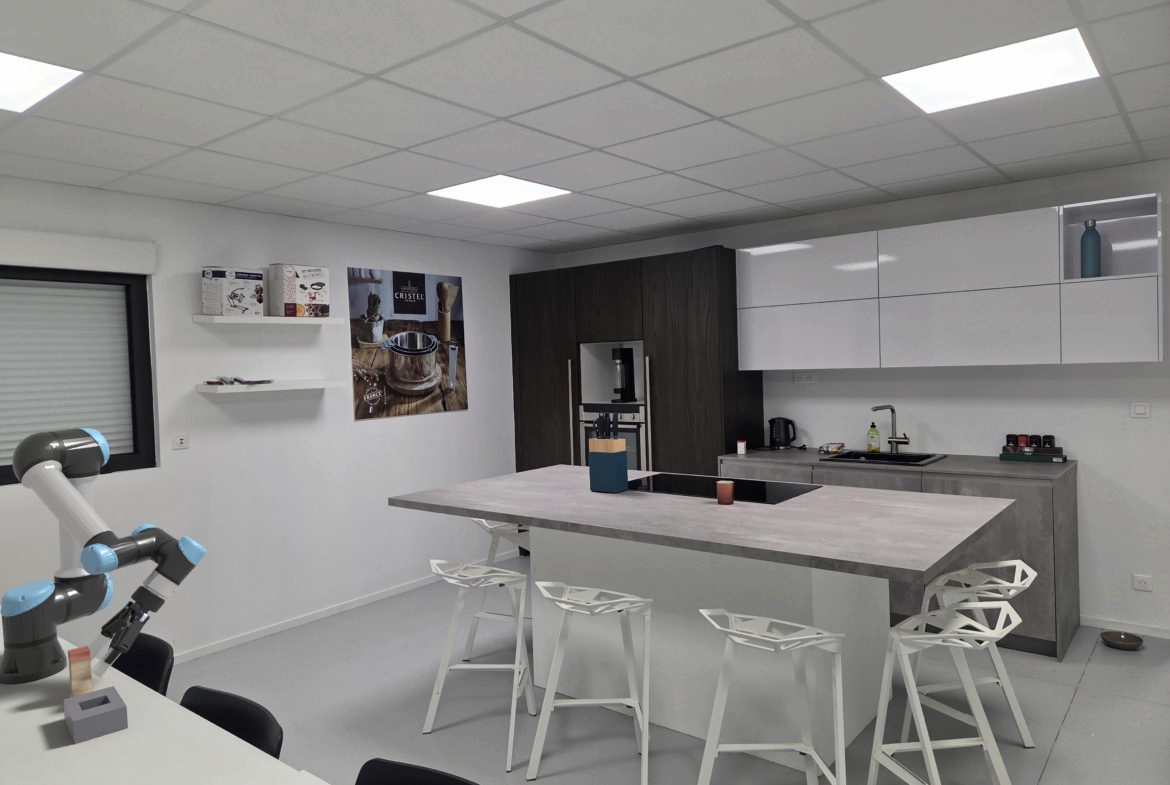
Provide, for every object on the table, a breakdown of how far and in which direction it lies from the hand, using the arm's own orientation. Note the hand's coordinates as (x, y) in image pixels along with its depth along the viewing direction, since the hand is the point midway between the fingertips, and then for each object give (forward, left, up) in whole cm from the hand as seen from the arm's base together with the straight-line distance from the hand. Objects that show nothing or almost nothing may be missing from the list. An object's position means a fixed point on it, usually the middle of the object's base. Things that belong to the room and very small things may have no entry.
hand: (90, 666), depth 186 cm
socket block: (+18, -2, -7) cm, 20 cm away
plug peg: (-1, -2, -7) cm, 8 cm away
